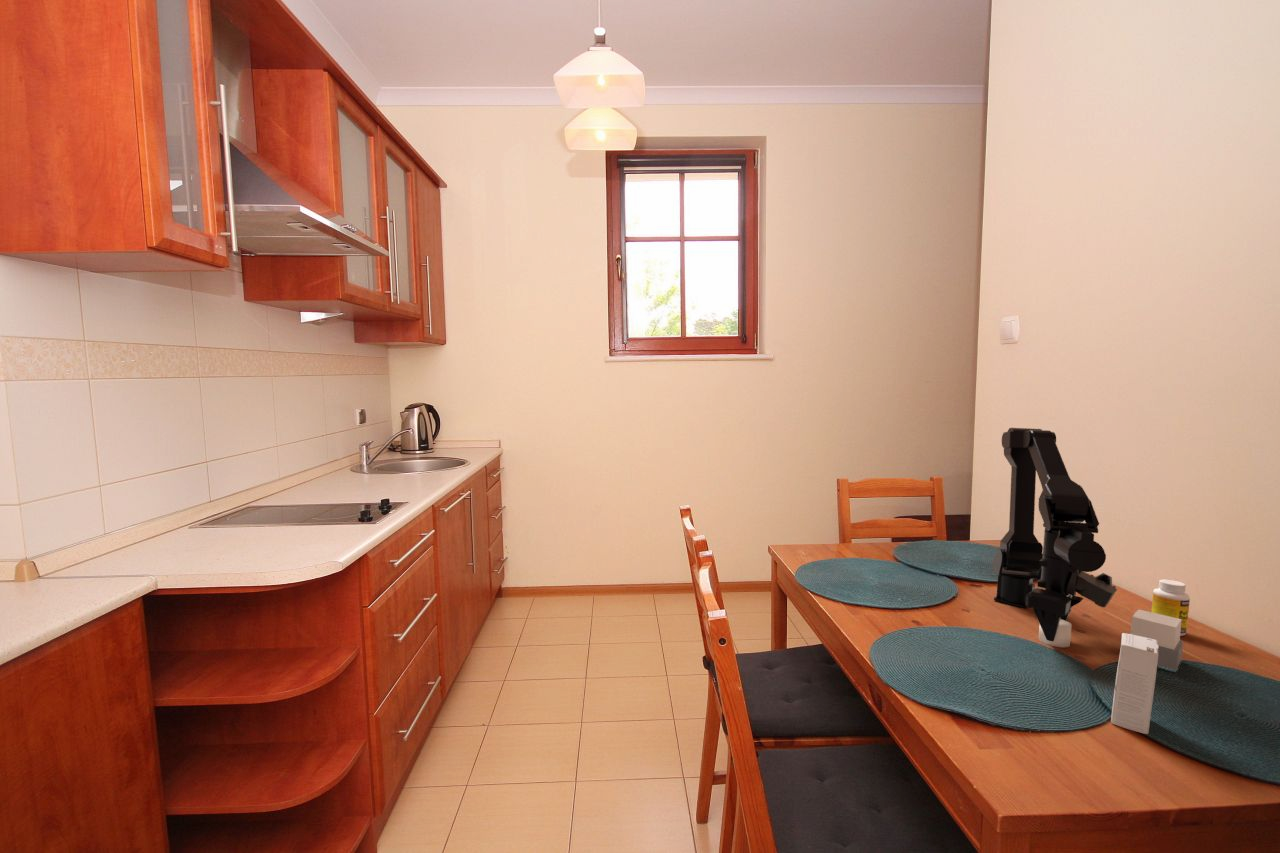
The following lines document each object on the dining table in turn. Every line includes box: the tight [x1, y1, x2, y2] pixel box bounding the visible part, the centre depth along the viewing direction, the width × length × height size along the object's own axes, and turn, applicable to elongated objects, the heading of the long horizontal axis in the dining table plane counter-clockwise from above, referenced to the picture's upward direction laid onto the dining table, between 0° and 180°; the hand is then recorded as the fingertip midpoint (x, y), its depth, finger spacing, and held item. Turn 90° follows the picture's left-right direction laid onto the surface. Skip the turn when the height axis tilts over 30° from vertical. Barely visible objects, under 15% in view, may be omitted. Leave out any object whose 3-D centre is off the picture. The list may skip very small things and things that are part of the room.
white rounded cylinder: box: [1038, 619, 1073, 648], centre depth 115 cm, size 5×5×4 cm
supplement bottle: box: [1150, 579, 1191, 637], centre depth 121 cm, size 6×6×10 cm
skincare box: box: [1110, 632, 1159, 735], centre depth 86 cm, size 6×4×12 cm
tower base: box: [1157, 639, 1184, 670], centre depth 108 cm, size 7×7×4 cm
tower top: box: [1129, 609, 1182, 650], centre depth 108 cm, size 6×6×4 cm
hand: (1054, 636), depth 115 cm, fingers open, 6 cm apart
